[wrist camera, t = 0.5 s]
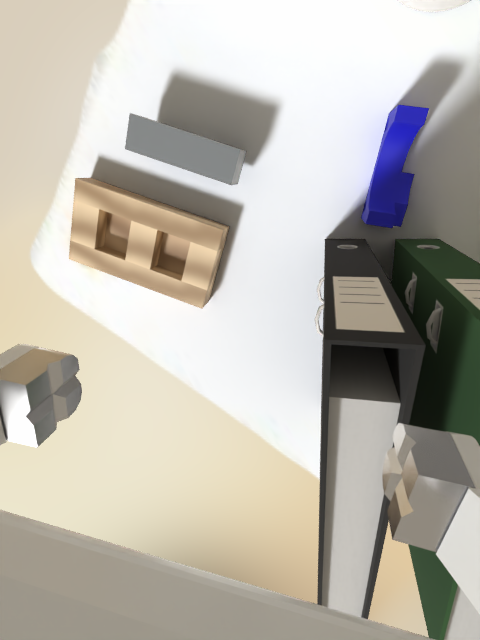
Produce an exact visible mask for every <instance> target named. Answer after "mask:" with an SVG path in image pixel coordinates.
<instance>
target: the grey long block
mask: <svg viewBox="0 0 480 640" xmlns="http://www.w3.org/2000/svg"><path fill="white" fill-rule="evenodd" d="M125 149H127V150H129V151H132V152H135V153H138V154H141V155H144V156H147V157H150V158H153V159H156V160H159V161H162V162H165V163H168V164H171V165H174V166H177V167H179V168H182V169H185V170H188V171H191V172H194V173H197V174H200V175H203V176H206V177H209V178H212V179H215V180H218V181H221V182H224V183H227V184H229V185H235V184H238V181H239V177H240V173H241V170H242V166H243V162H244V159H245V155H246V151H245V150H242V149H239V148H236V147H233V146H230V145H227V144H224V143H221V142H218V141H215V140H212V139H208V138H205V137H202V136H199V135H196V134H193V133H190V132H187V131H184V130H181V129H178V128H175V127H172V126H169V125H166V124H163V123H160V122H157V121H154V120H151V119H148V118H145V117H142V116H138V115H135V114H132V113H130V116H129V124H128V131H127V138H126V146H125Z"/></svg>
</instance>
